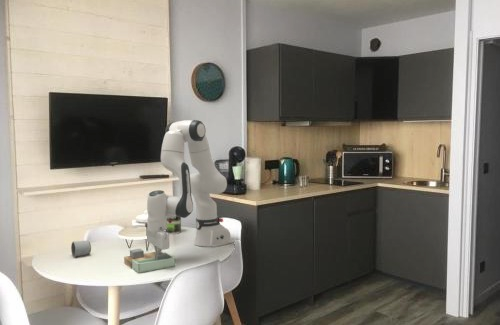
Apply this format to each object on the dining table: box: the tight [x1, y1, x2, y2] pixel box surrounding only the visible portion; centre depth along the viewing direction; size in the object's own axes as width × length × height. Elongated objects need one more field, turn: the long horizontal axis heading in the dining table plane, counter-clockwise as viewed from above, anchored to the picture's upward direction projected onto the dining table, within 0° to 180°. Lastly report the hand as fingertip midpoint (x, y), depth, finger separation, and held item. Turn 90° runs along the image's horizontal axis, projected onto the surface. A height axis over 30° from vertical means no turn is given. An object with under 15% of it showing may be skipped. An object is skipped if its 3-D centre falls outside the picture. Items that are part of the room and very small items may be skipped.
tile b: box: [129, 248, 145, 259], centre depth 204 cm, size 5×5×3 cm
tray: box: [131, 253, 176, 274], centre depth 197 cm, size 17×9×4 cm, turn 123°
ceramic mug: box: [70, 240, 92, 258], centre depth 220 cm, size 11×8×8 cm
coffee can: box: [166, 216, 182, 235], centre depth 267 cm, size 10×10×14 cm
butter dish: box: [131, 209, 148, 229], centre depth 259 cm, size 18×18×16 cm
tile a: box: [155, 252, 169, 261], centre depth 199 cm, size 5×5×3 cm
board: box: [123, 250, 164, 269], centre depth 205 cm, size 18×10×3 cm, turn 123°
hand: (158, 254), depth 202 cm, fingers closed
